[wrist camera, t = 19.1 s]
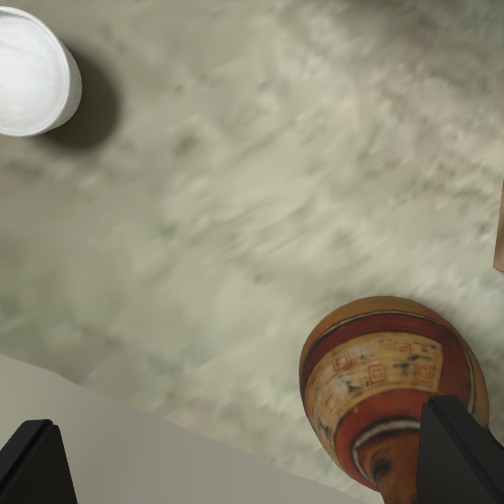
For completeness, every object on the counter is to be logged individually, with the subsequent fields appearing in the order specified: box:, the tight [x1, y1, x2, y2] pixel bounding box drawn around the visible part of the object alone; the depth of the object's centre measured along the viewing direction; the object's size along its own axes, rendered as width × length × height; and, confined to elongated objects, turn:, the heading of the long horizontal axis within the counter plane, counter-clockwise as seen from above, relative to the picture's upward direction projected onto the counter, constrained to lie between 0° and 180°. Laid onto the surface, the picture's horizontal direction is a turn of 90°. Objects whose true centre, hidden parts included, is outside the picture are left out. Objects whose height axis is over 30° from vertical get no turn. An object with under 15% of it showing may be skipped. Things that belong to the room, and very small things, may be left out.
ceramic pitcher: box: [299, 296, 504, 504], centre depth 36 cm, size 20×20×30 cm
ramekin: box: [0, 6, 82, 137], centre depth 38 cm, size 11×11×5 cm
